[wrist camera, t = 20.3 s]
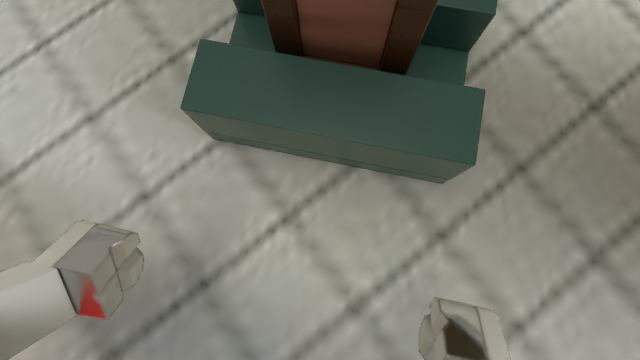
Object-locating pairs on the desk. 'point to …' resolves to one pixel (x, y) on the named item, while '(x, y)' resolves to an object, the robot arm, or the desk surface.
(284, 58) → the holder
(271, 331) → the desk surface
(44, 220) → the desk surface
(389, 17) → the frame
